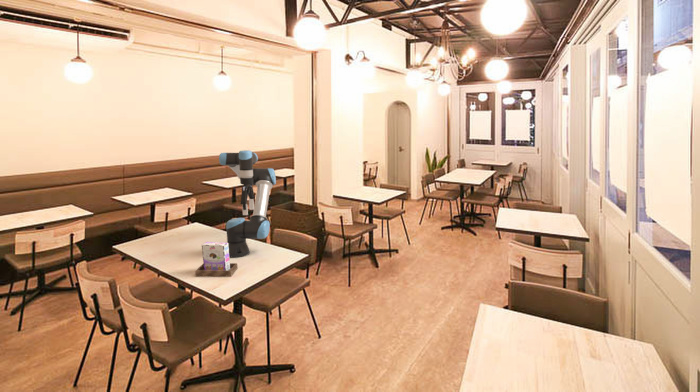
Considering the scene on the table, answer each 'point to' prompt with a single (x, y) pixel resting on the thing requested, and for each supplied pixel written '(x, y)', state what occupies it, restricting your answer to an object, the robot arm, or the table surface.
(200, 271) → the wooden picture frame
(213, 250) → the candy box
